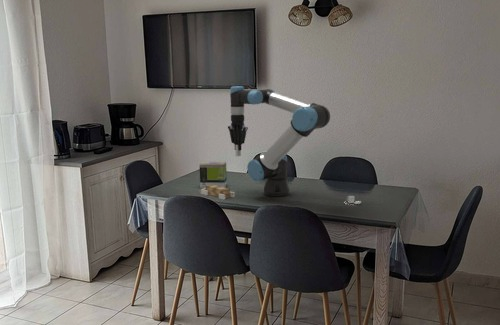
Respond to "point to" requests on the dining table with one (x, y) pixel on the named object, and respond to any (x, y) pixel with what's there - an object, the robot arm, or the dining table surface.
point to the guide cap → (222, 196)
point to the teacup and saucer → (352, 200)
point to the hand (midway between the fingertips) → (238, 155)
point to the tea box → (213, 174)
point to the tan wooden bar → (218, 191)
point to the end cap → (203, 191)
